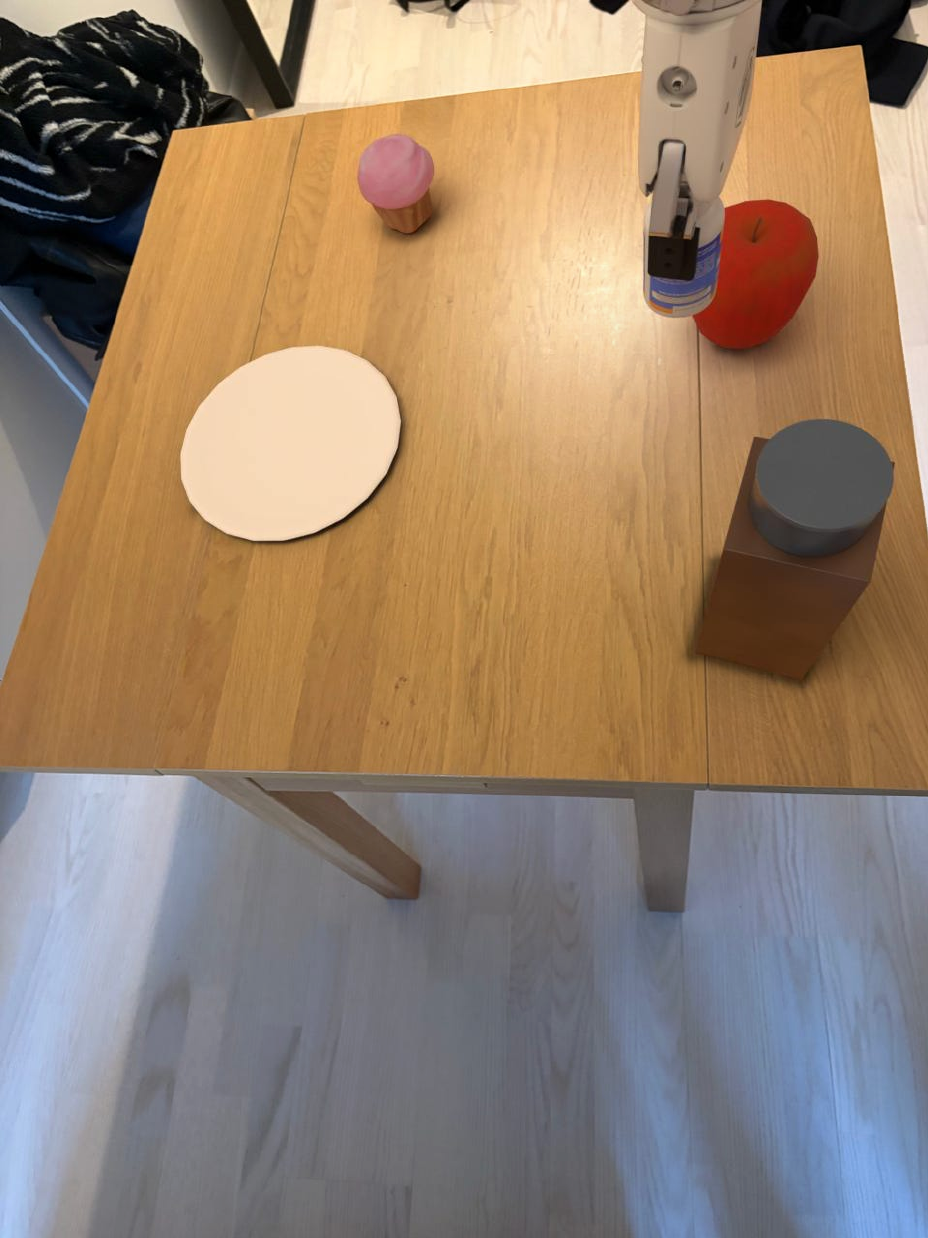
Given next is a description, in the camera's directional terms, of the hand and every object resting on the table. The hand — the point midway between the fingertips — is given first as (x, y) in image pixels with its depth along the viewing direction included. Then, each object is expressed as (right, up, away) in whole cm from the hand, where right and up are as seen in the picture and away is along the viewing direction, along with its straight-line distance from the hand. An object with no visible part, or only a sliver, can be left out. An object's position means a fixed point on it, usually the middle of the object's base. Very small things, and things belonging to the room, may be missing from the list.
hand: (682, 240), depth 56 cm
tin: (+7, -19, -4) cm, 21 cm away
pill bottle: (+1, -2, +5) cm, 5 cm away
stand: (+11, -27, +14) cm, 32 cm away
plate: (-34, -8, +31) cm, 47 cm away
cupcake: (-22, +22, +41) cm, 51 cm away
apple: (+13, +3, +26) cm, 30 cm away
